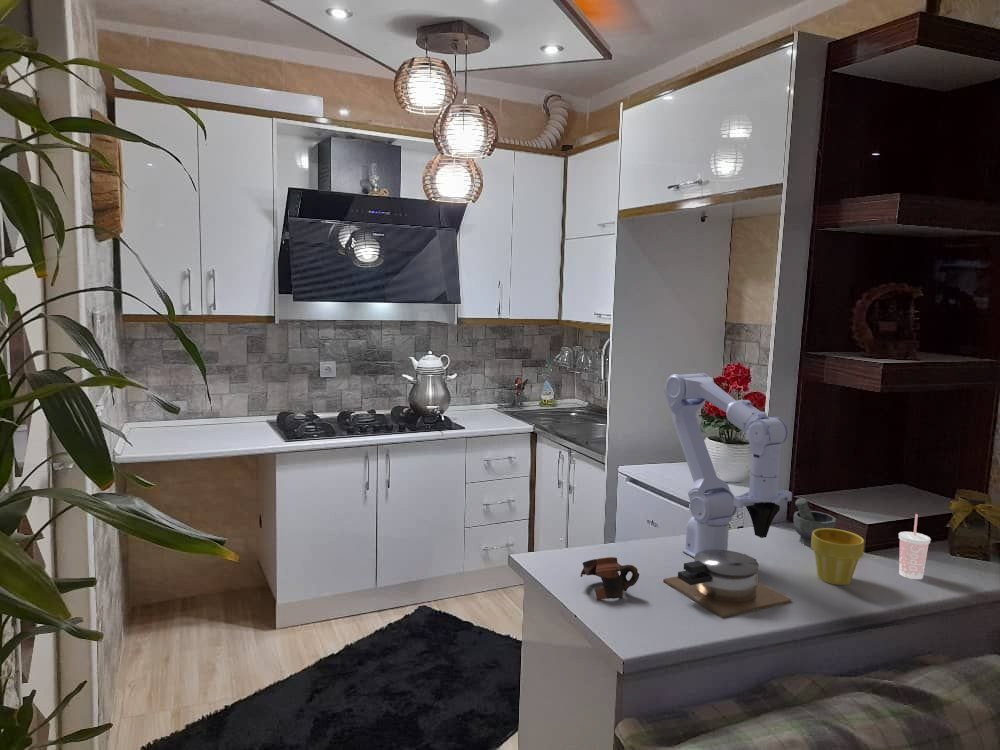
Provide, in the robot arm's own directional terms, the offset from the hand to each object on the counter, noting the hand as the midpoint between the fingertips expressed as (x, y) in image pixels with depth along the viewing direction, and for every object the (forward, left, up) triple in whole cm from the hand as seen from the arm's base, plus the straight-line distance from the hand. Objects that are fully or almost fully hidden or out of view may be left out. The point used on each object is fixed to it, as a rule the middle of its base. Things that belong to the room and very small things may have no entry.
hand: (760, 536), depth 151 cm
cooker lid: (+2, -13, -4) cm, 13 cm away
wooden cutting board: (+2, -11, -10) cm, 15 cm away
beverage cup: (+11, +34, -10) cm, 37 cm away
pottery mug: (-8, -33, -10) cm, 35 cm away
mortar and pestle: (-12, +29, -10) cm, 33 cm away
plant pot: (+6, +16, -10) cm, 20 cm away
